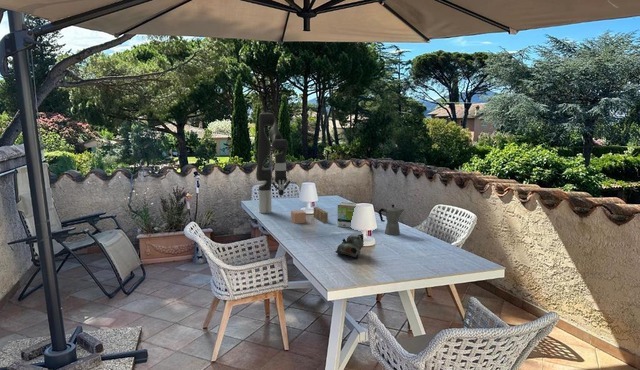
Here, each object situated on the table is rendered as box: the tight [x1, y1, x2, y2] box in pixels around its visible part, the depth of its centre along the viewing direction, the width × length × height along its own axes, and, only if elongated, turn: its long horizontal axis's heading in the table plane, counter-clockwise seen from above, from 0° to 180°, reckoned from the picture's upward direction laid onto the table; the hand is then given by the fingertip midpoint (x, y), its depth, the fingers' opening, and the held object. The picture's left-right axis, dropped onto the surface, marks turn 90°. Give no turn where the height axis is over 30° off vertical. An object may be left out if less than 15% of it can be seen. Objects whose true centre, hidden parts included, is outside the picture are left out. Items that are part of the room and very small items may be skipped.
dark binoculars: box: [334, 232, 364, 259], centre depth 218 cm, size 15×12×14 cm
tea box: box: [336, 201, 359, 229], centre depth 279 cm, size 15×10×15 cm
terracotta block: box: [290, 210, 307, 224], centre depth 292 cm, size 8×8×7 cm
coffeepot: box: [377, 204, 404, 236], centre depth 260 cm, size 15×9×18 cm, turn 92°
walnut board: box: [313, 206, 329, 224], centre depth 298 cm, size 20×3×7 cm, turn 20°
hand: (281, 195), depth 286 cm, fingers closed
